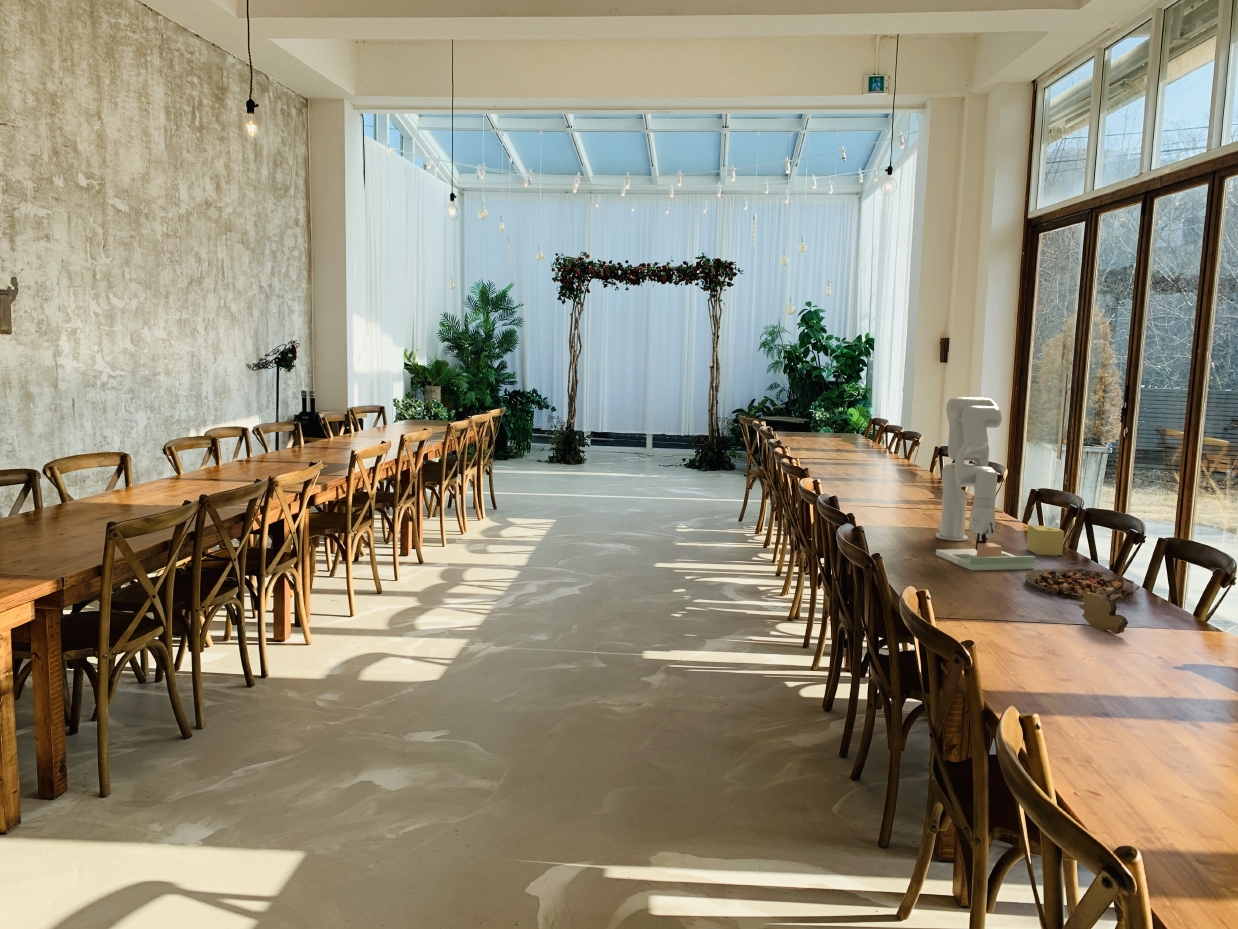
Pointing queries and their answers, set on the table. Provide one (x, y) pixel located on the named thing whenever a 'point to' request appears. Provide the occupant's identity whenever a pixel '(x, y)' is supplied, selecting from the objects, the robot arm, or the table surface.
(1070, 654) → the table surface
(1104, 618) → the wooden carving
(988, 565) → the board
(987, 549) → the block
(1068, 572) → the food dish
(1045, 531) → the cheese
